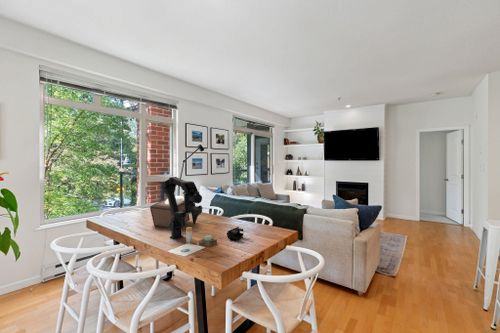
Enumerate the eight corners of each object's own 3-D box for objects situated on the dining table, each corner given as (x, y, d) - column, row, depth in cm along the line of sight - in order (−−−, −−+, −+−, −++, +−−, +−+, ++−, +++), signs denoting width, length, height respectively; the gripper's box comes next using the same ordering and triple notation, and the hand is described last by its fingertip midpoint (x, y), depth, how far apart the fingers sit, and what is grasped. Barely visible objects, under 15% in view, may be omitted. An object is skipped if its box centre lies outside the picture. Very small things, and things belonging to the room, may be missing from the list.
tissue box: (154, 230, 191) (148, 202, 186) (179, 215, 215) (174, 190, 210) (176, 234, 180) (170, 204, 175) (200, 218, 204) (195, 191, 199)
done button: (202, 241, 146) (202, 236, 146) (207, 239, 150) (207, 234, 150) (208, 242, 144) (208, 238, 143) (213, 240, 148) (213, 235, 148)
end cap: (235, 235, 163) (235, 226, 163) (243, 237, 159) (243, 227, 159) (226, 240, 154) (226, 229, 154) (235, 241, 151) (235, 231, 151)
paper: (167, 252, 134) (167, 251, 134) (188, 243, 148) (188, 243, 147) (184, 256, 127) (184, 256, 127) (205, 247, 140) (205, 247, 140)
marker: (184, 242, 149) (184, 228, 149) (189, 241, 152) (189, 226, 152) (189, 243, 147) (189, 228, 147) (193, 242, 150) (193, 227, 150)
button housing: (198, 244, 146) (198, 240, 146) (207, 240, 152) (207, 237, 152) (208, 246, 141) (208, 242, 141) (217, 243, 148) (217, 239, 148)
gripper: (187, 205, 137) (187, 231, 138) (208, 200, 153) (208, 224, 153) (173, 203, 143) (174, 229, 143) (195, 199, 159) (195, 222, 159)
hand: (189, 226), depth 150 cm, fingers open, 9 cm apart
